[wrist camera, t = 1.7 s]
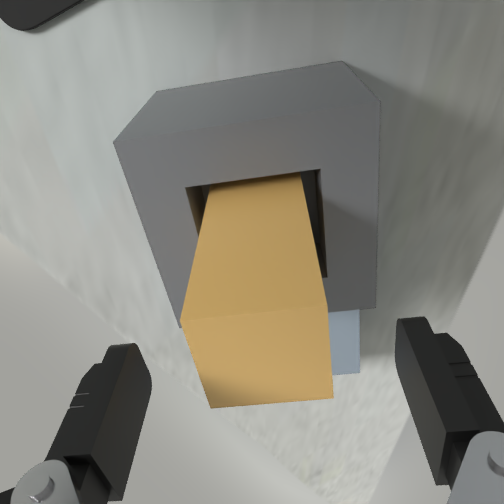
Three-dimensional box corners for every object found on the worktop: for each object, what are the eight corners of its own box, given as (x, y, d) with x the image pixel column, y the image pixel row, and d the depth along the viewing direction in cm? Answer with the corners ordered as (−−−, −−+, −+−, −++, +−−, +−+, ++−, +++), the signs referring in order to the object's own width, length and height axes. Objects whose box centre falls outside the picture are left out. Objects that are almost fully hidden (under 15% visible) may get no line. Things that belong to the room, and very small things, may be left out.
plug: (213, 171, 19) (179, 320, 11) (297, 160, 19) (327, 305, 11) (231, 253, 22) (215, 422, 14) (305, 244, 22) (334, 413, 13)
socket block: (156, 91, 22) (112, 142, 15) (342, 60, 21) (380, 101, 14) (226, 344, 33) (218, 435, 27) (349, 331, 32) (372, 424, 26)
